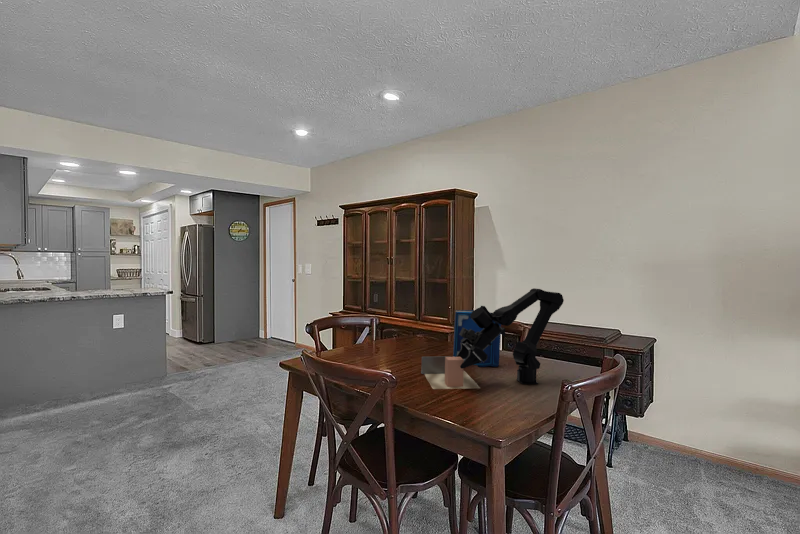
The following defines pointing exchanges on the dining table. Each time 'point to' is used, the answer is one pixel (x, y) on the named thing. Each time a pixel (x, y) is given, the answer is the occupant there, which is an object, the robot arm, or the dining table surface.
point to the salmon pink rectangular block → (453, 371)
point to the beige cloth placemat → (439, 383)
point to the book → (466, 322)
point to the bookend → (433, 365)
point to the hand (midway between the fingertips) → (457, 364)
